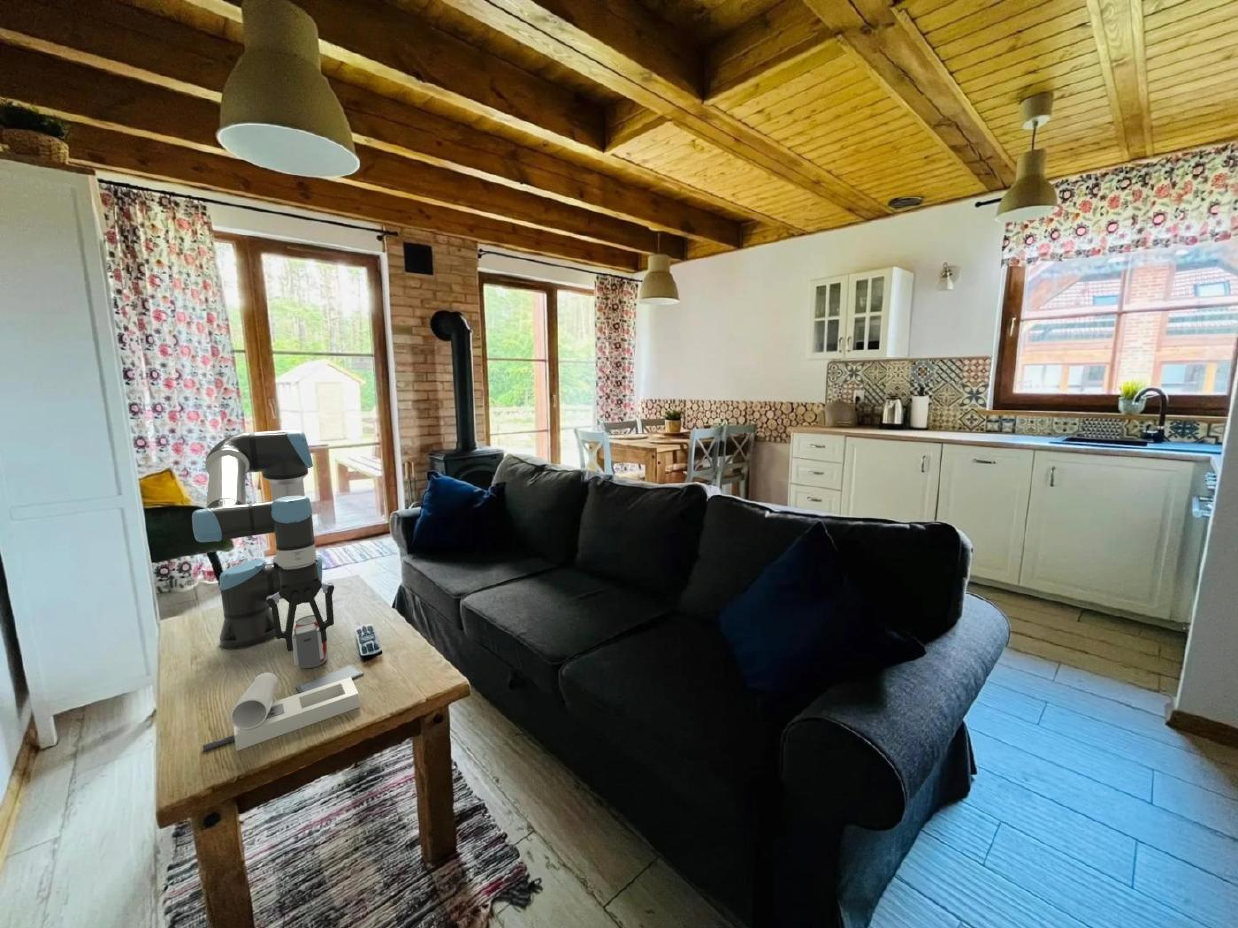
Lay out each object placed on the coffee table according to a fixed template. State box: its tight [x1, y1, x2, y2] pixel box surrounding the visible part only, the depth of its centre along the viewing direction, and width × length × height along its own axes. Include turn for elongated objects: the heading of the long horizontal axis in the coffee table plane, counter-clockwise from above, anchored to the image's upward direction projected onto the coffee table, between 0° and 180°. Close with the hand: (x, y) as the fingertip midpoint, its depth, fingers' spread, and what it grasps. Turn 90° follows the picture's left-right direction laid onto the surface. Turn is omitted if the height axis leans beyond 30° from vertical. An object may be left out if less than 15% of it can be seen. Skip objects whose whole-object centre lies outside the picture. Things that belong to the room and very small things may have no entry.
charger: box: [293, 624, 320, 669], centre depth 119 cm, size 4×4×8 cm
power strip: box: [202, 677, 361, 752], centre depth 117 cm, size 30×9×4 cm, turn 128°
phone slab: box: [295, 663, 365, 694], centre depth 134 cm, size 7×14×1 cm, turn 141°
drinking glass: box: [230, 672, 279, 729], centre depth 116 cm, size 7×7×15 cm
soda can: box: [294, 614, 329, 669], centre depth 143 cm, size 7×7×13 cm
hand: (308, 659), depth 120 cm, fingers closed on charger, 4 cm apart
